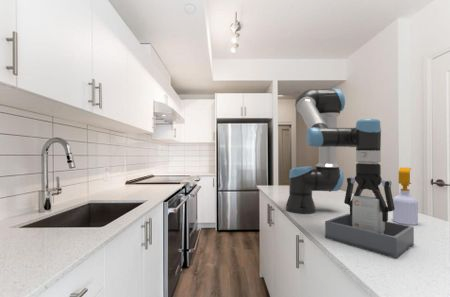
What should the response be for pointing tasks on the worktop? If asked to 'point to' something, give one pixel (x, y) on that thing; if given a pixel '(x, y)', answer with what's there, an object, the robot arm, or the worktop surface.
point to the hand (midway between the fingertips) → (367, 227)
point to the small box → (366, 213)
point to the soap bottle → (405, 201)
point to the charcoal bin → (371, 236)
